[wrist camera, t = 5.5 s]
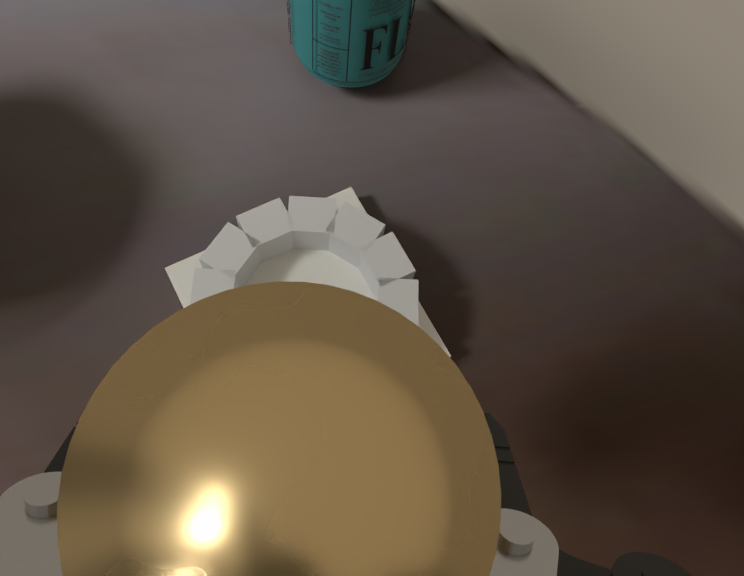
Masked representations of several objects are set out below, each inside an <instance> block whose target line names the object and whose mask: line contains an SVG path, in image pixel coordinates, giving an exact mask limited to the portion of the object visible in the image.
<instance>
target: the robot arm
mask: <svg viewBox="0 0 744 576" xmlns="http://www.w3.org/2000/svg"><path fill="white" fill-rule="evenodd" d="M484 415H485V418H486V421H487V424H488V427H489V430H490V433H491V435H492V438H493V443H494V447H495V452H496V456H497V461H498V466H499V476H500V487H501V519H500V530H499V536H498V543H497V549H496V555H495V558H494V562H493V565H492V569H491V572H490V576H692V575H690V574H689V573H688V572H687V571H686V570H684V569H683V568H682V567H680V566H679V565H677V564H675V563H674V562H672V561H670V560H668V559H665V558H663V557H661V556H658V555H655V554H650V553H644V552H632V553H627V554H625V555H622V556H621V557H619V558H618V559H617V560H616V562H615V563H614V565H613V568H612V570H610V569H607V568H604V567H601V566H598V565H595V564H592V563H589V562H586V561H583V560H580V559H577V558H575V557H572V556H570V555H568V554H566V553H564V552H563V551H561V550H559V547H558V543H557V541H556V539H555V537H554V535H553V534H552V532H551V531H550V530H549V529H548V528H547V527H546V526H545V525H544V524H543V523H542V522H540V521H539V520H537V519H536V518H534V517H532V514H531V511H530V508H529V505H528V502H527V499H526V496H525V493H524V490H523V487H522V483H521V480H520V477H519V474H518V471H517V468H516V466H514V459H513V456H512V453H511V451H510V446H509V443H508V440H507V437H506V434H505V431H504V429H503V428H502V427H501V426H500V425H499V424H498V423H497V421H496V420H495V419H494V418H493V417H492V416H491V415H490V414H489V413H484ZM78 421H79V420H78ZM77 424H78V422H77ZM75 429H76V427H74V428H73V430H72V431H71V433H70V434H69V436H68V437H67V439H66V440H65V442H64V443H63V445H62V446H61V448H60V449H59V451H58V452H57V454H56V455H55V457H54V458H53V460H52V461H51V463H50V464H49V466H48V467H47V469H46V470H45V472H44V473H41V474H37V475H34V476H31V477H28V478H25V479H23V480H21V481H19V482H17V483H16V484H14V485H13V486H11V487H10V488H8V489H7V490H6V491H5V492H4V493H3V494H2V495H1V496H0V576H63V573H62V569H61V563H60V556H59V548H58V540H57V502H58V495H59V487H60V480H61V473H62V470H63V466H64V462H65V458H66V455H67V451H68V447H69V444H70V441H71V439H72V436H73V434H74V431H75Z"/></svg>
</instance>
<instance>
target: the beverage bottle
mask: <svg viewBox="0 0 744 576" xmlns="http://www.w3.org/2000/svg"><path fill="white" fill-rule="evenodd" d="M411 3H412V0H290V5H289V8H288V7H287V8H288V9H289V12H288V14H290V9H291V20H290V21H291V25H290V24H289V25H290V28H289V29H290V33H291V26H292V41H293V46H294V49H295V51H296V54H297V56H298V58H299V60H300V61H301V63H302V64H303V66H304V67H305V68H306V69H307V70H308V71H309V72H310V73H311V74H312V75H314V76H315V77H317V78H318V79H320V80H322V81H324V82H326V83H329V84H332V85H335V86H340V87H363V86H368V85H371V84H374V83H376V82H379V81H380V80H382V79H384V78H385V77H386V76H387V75H389V74H390V73H391V72H392V70H393V69H394V68H395V67H396V66H397V65H398V64H399V63H398V61H399V60H400V58H401V56H402V53H404V52H403V50H404V46H405V44H406V42H407V41H406V42H405V39H406V40H407V37H406V33H407V35H408V32H407V31H409V29H410V28H411V24H410V23H409V18H410V21H411V16H413V13H412V14H411V10H410V9H411ZM414 4H415V0H414ZM287 5H288V3H287ZM288 9H287V11H288ZM413 10H414V5H413V9H412V12H413ZM409 15H410V16H409ZM411 22H412V21H411ZM288 23H289V22H288ZM408 24H409V25H408ZM289 25H288V27H289ZM409 26H410V27H409ZM407 27H409V28H408V29H407ZM409 34H410V33H409ZM289 39H290V38H289ZM290 43H291V42H290ZM407 43H408V42H407ZM405 48H406V47H405ZM404 51H405V50H404ZM402 58H403V57H402ZM401 60H402V59H401ZM401 60H400V61H401ZM397 63H398V64H397Z"/></svg>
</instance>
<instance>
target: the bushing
mask: <svg viewBox="0 0 744 576" xmlns="http://www.w3.org/2000/svg"><path fill="white" fill-rule="evenodd" d="M500 519H501V487H500V476H499V466H498V461H497V456H496V452H495V447H494V443H493V438H492V435H491V433H490V430H489V427H488V424H487V421H486V418H485V415H484V413H483V410H482V408H481V406H480V404H479V402H478V400H477V398H476V396H475V394H474V392H473V390H472V388H471V387H470V385H469V384H468V382H467V380H466V379H465V377H464V376H463V374H462V373H461V371H460V370H459V368H458V367H457V365H456V364H455V363H454V362H453V361H452V359H451V358H450V357H449V356H448V355H447V354H446V352H445V351H444V350H443V349H442V348H441V347H440V345H439V344H437V343H436V342H435V341H434V340H433V339H432V338H431V337H430V336H429V335H428V334H427V333H425V332H424V331H423V330H422V329H421V328H420V327H419V326H417V325H416V324H414V323H413V322H412V321H410V320H409V319H407V318H406V317H405V316H403V315H402V314H400V313H399V312H397V311H395V310H393V309H391V308H390V307H388V306H386V305H384V304H382V303H380V302H378V301H377V300H374V299H371V298H369V297H366V296H364V295H361V294H359V293H356V292H354V291H350V290H346V289H342V288H338V287H334V286H330V285H325V284H317V283H309V282H285V281H277V282H268V283H259V284H251V285H246V286H242V287H238V288H234V289H229V290H225V291H223V292H220V293H217V294H214V295H212V296H209V297H206V298H204V299H201V300H199V301H197V302H195V303H193V304H191V305H189V306H187V307H185V308H183V309H181V310H179V311H177V312H175V313H174V314H172V315H171V316H169V317H168V318H166V319H165V320H163V321H162V322H160V323H159V324H157V325H156V326H154V327H153V328H152V329H151V330H149V331H148V332H147V333H146V334H145V335H144V336H142V337H141V338H140V339H139V340H138V341H136V342H135V343H134V344H133V345H132V346H131V347H130V348H129V349H128V350H127V351H126V352H125V353H124V354H123V356H122V357H121V358H120V359H119V360H118V361H117V362H116V363H115V364H114V365H113V366H112V368H111V369H110V370H109V372H108V373H107V375H106V376H105V377H104V379H103V380H102V381H101V383H100V384H99V386H98V387H97V388H96V390H95V391H94V393H93V395H92V397H91V398H90V400H89V402H88V404H87V406H86V408H85V409H84V411H83V413H82V415H81V417H80V419H79V421H78V424H77V426H76V429H75V431H74V434H73V436H72V439H71V441H70V444H69V447H68V451H67V455H66V458H65V462H64V466H63V470H62V473H61V480H60V487H59V495H58V502H57V540H58V548H59V556H60V563H61V569H62V573H63V576H490V572H491V569H492V565H493V562H494V558H495V555H496V549H497V543H498V536H499V530H500Z"/></svg>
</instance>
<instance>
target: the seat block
mask: <svg viewBox="0 0 744 576" xmlns="http://www.w3.org/2000/svg"><path fill="white" fill-rule="evenodd" d="M236 218H237V222H238V226H239V228H237V227H236V226H234V225H232V224H231V223H229V222H228V223H227V224H226V225H225V226H224V228H223V229H222V230H221V231H220V233H219V234H218V235H217V236H216V238H215V239H214V240H213V241H212V243H211V244H210V245H209V246H208V248H207V249H206V250H205V251H203V252H200V253H198V254H196V255H193V256H191V257H189V258H186V259H184V260H182V261H180V262H177V263H175V264H173V265H170V266H168V267H166V268H165V270H166V272H167V274H168V276H169V278H170V280H171V282H172V285H173V287H174V289H175V291H176V293H177V295H178V297H179V299H180V302H181V304H182V306H183V308H185V307H187V306H189V305H191V304H193V303H195V302H197V301H199V300H201V299H204V298H206V297H209V296H212V295H214V294H217V293H220V292H223V291H225V290H229V289H234V288H238V287H242V286H246V285H251V284H259V283H268V282H277V281H285V282H309V283H317V284H325V285H330V286H334V287H338V288H342V289H346V290H350V291H354V292H356V293H359V294H361V295H364V296H366V297H369V298H371V299H374V300H377V301H378V302H380V303H382V304H384V305H386V306H388V307H390V308H391V309H393V310H395V311H397V312H399V313H400V314H402V315H403V316H405V317H406V318H407V319H409V320H410V321H412V322H413V323H414V324H416V325H417V326H419V327H420V328H421V329H422V330H423V331H424V332H425V333H427V334H428V335H429V336H430V337H431V338H432V339H433V340H434V341H435V342H436V343H437V344H439V345H440V347H441V348H442V349H443V350H444V351H445V352H446V354H447V355H448V356H449V357H451V355H450V353H449V351H448V350H447V348H446V346H445V345H444V343H443V341H442V340H441V338H440V336H439V334H438V333H437V331H436V329H435V328H434V326H433V324H432V323H431V321H430V319H429V318H428V316H427V314H426V313H425V311H424V309H423V307H422V306H421V304H420V302H419V301H418V280H414V279H413V277H414V274H415V271H416V270H415V268H414V267H413V265H412V263H411V262H410V260H409V258H408V257H407V255H406V253H405V252H404V250H403V248H402V247H401V245H400V243H399V242H398V240H397V238H396V237H395V235H394V233H393V232H390V233H388V234H386V235H384V236H383V234H384V230H385V224H383V223H382V222H380V221H378V220H377V219H375V218H373V217H371V216H370V215H368V214H367V213H366V211H365V209H364V208H363V206H362V204H361V203H360V201H359V199H358V198H357V196H356V194H355V193H354V191H353V189H352V187H350V188H347V189H345V190H343V191H340V192H338V193H336V194H334V195H331V196H329V197H327V198H318V197H302V196H289V206H288V212H287V210H286V208H285V206H284V205H283V203H282V201H281V199H280V197H279V198H277V199H275V200H272V201H270V202H268V203H265V204H263V205H261V206H258V207H256V208H254V209H251V210H249V211H247V212H244V213H242V214H240V215H237V216H236Z"/></svg>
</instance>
